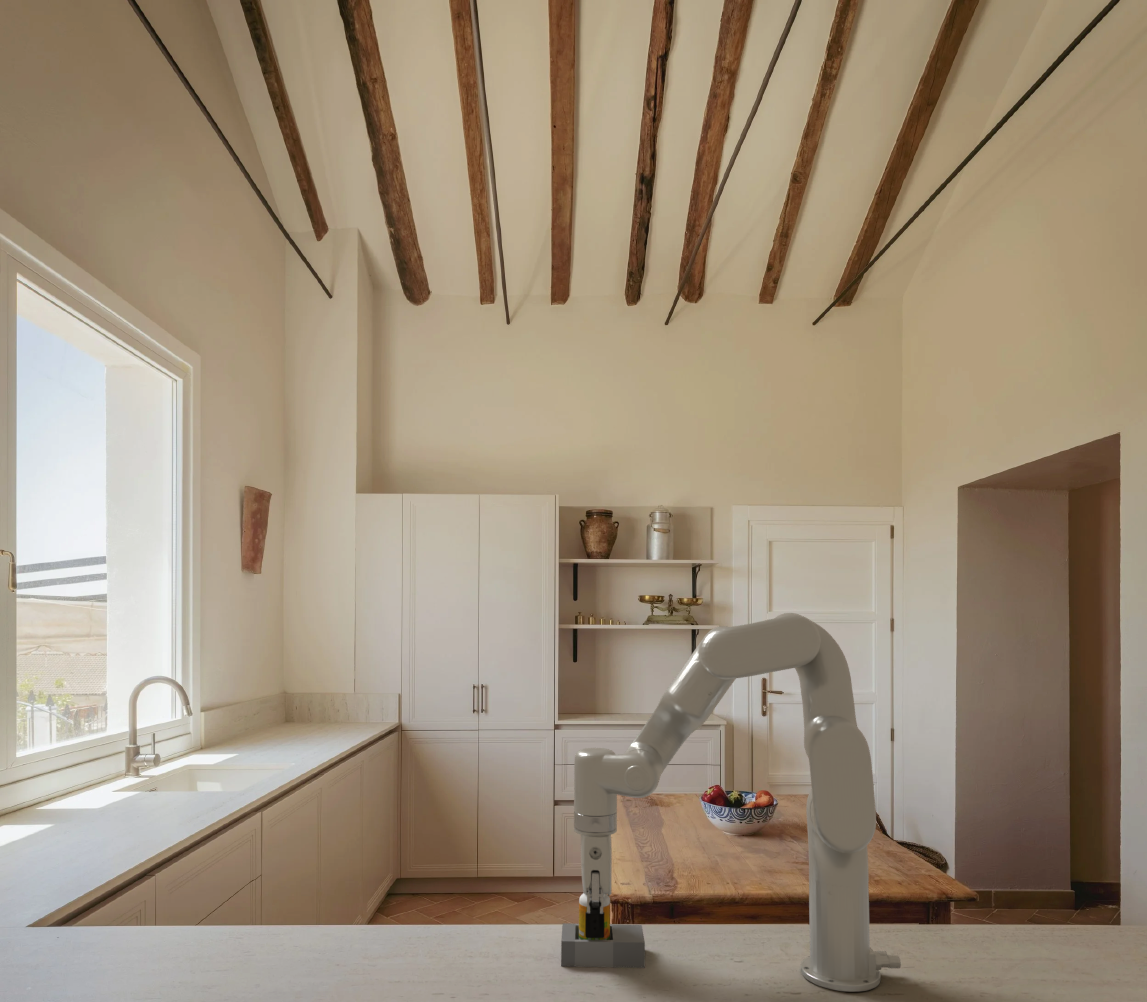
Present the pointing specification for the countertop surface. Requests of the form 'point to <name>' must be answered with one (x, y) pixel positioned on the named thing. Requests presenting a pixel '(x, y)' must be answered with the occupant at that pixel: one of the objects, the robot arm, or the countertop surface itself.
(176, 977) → the countertop surface
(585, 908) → the supplement bottle
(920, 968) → the countertop surface
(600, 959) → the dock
